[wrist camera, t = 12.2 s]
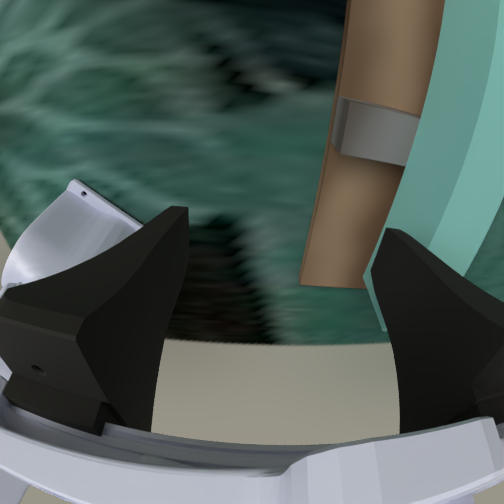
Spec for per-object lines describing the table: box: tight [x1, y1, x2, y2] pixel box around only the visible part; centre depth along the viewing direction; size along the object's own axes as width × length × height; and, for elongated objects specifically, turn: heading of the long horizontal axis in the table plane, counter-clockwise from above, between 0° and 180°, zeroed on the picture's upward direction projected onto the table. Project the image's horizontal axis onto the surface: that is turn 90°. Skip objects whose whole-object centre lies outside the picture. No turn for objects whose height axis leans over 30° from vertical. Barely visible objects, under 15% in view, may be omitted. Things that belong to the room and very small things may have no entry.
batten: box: [363, 0, 504, 331], centre depth 13 cm, size 20×4×5 cm, turn 171°
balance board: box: [299, 0, 445, 289], centre depth 17 cm, size 12×26×4 cm, turn 175°
